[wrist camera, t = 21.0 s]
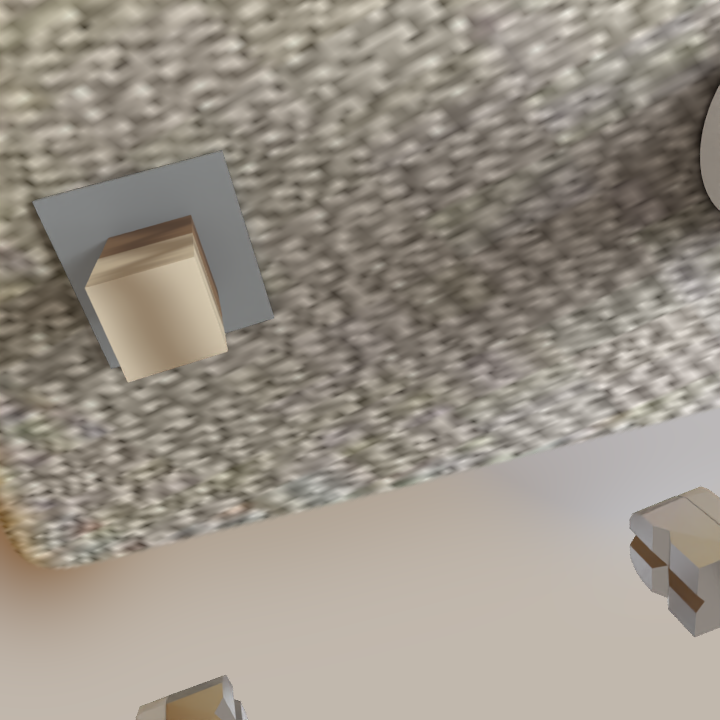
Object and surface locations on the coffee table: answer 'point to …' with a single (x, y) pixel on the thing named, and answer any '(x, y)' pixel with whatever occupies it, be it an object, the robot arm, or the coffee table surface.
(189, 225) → the walnut cube
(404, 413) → the coffee table surface
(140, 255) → the beech cube
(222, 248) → the pad
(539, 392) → the coffee table surface
